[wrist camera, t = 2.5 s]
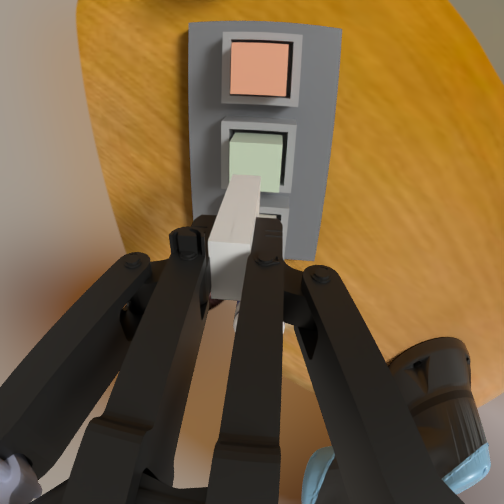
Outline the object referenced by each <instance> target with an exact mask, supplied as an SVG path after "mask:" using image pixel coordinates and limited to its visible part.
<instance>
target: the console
mask: <svg viewBox="0 0 504 504" xmlns="http://www.w3.org/2000/svg"><path fill="white" fill-rule="evenodd" d="M341 38H342V29H339V28H332V27H325V26H317V25H308V24H297V23H285V22H267V21H212V22H194V23H189V42H188V102H189V143H190V169H191V189H192V207H193V221H194V219H196V218H197V217H198V216H200V215H218V212H219V209H220V207H221V204H222V201H223V199H224V196H225V193H226V191H227V188H228V185H229V153H230V141H231V139H232V137H233V136H234V134H235V132H236V133H258V134H274V135H282V141H283V146H282V160H281V174H280V187H279V193H275V192H261V191H260V206H259V214H267V215H276V219H279V221H280V222H281V223H282V225H283V260H284V259H293V260H306V261H314V259H315V253H316V248H317V242H318V236H319V230H320V223H321V217H322V211H323V204H324V197H325V190H326V183H327V176H328V169H329V161H330V153H331V145H332V137H333V128H334V119H335V110H336V100H337V89H338V78H339V66H340V53H341ZM232 42H246V43H274V44H289V48H288V67H287V85H286V96H271V95H251V94H230V86H231V47H232Z"/></svg>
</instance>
